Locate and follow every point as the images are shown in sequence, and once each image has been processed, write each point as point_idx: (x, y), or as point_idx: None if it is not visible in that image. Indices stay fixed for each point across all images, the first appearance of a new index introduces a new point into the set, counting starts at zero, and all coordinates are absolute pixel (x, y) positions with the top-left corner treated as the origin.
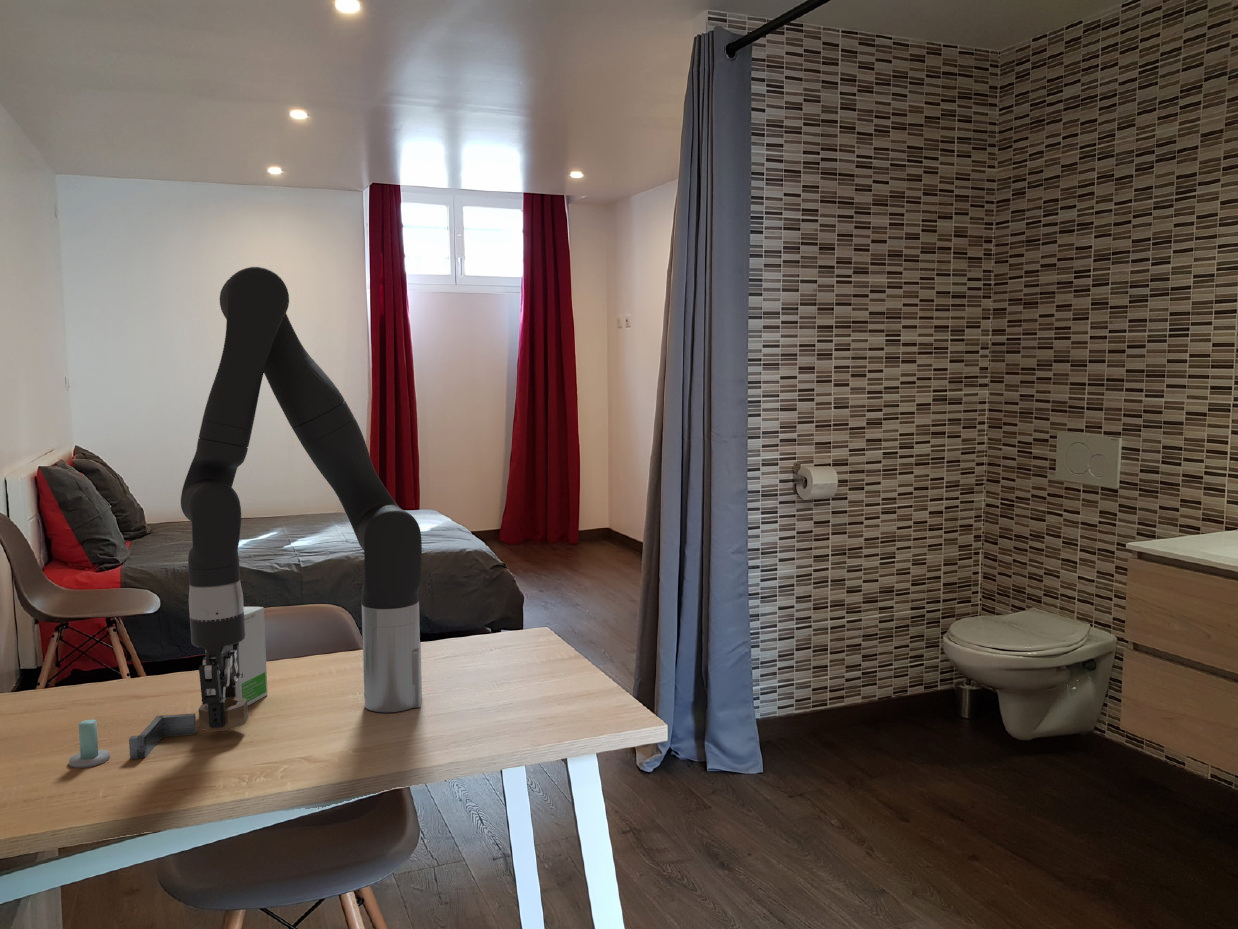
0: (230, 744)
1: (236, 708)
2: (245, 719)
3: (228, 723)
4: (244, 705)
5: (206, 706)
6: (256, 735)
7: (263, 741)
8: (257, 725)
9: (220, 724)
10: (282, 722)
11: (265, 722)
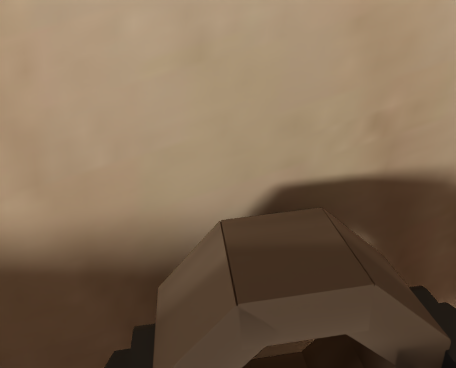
0: (388, 207)
1: (406, 306)
2: (293, 221)
3: (400, 278)
4: (329, 280)
5: None
6: (299, 125)
7: (395, 60)
8: (151, 165)
9: (450, 306)
10: (102, 30)
11: (104, 137)
